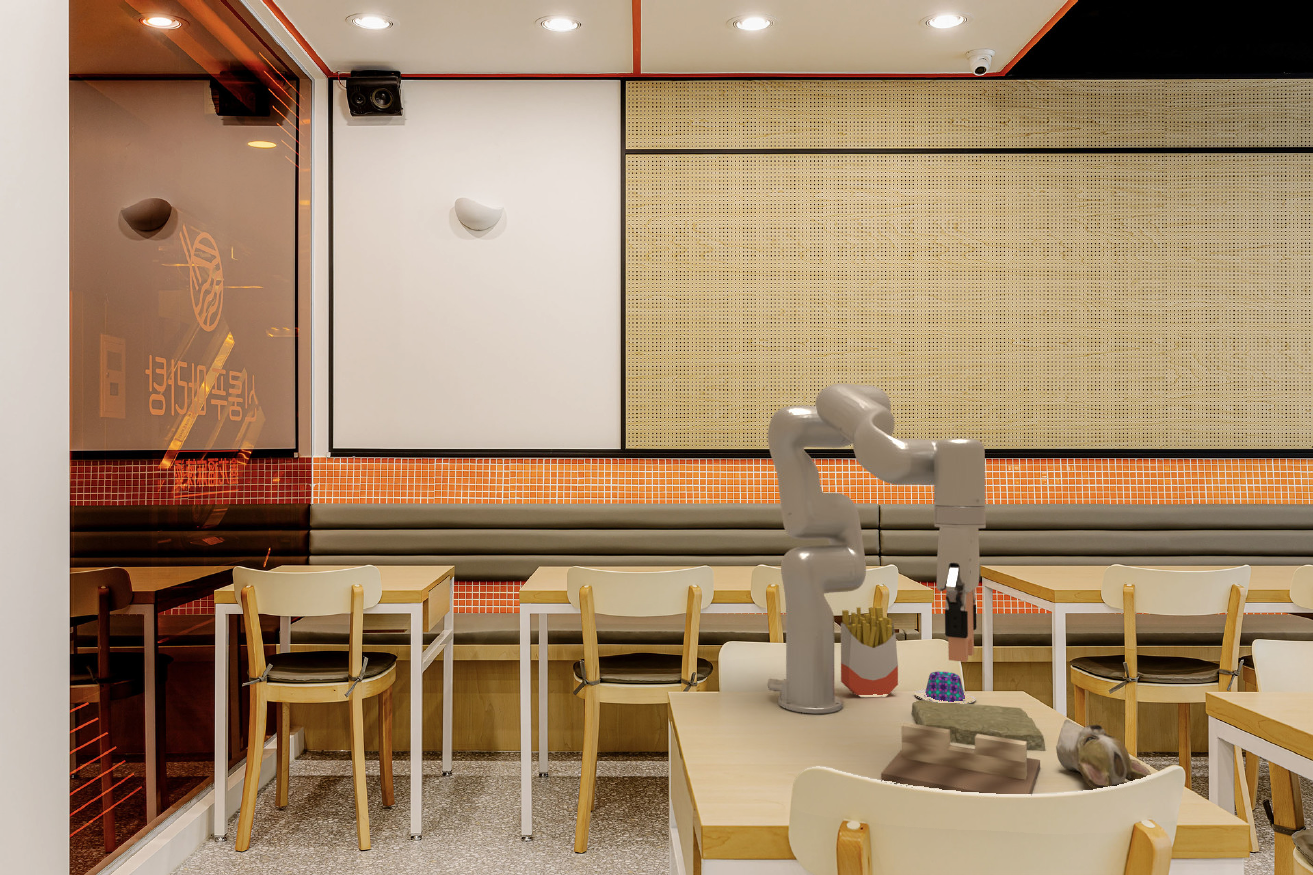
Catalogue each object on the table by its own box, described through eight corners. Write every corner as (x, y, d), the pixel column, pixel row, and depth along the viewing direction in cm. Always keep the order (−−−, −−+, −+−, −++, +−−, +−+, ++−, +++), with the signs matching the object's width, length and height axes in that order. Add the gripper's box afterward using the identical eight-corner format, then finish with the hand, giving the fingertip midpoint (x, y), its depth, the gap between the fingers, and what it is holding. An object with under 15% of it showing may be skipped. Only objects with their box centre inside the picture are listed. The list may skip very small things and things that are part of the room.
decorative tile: (911, 715, 159) (911, 696, 159) (1022, 722, 155) (1022, 703, 155) (922, 746, 141) (922, 725, 141) (1048, 755, 137) (1048, 733, 137)
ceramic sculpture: (1095, 707, 132) (1169, 742, 117) (1094, 760, 132) (1168, 802, 118) (1036, 711, 130) (1104, 747, 115) (1035, 765, 130) (1103, 809, 116)
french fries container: (898, 697, 170) (898, 609, 171) (849, 699, 168) (849, 610, 169) (888, 691, 175) (888, 606, 176) (840, 693, 173) (840, 607, 174)
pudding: (977, 696, 173) (977, 670, 173) (974, 710, 162) (973, 683, 162) (917, 689, 178) (917, 665, 178) (911, 703, 167) (910, 677, 167)
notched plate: (948, 660, 125) (947, 593, 125) (957, 651, 131) (956, 588, 131) (965, 661, 123) (965, 594, 124) (973, 653, 129) (972, 589, 130)
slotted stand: (881, 781, 123) (880, 739, 123) (910, 745, 139) (910, 708, 140) (1026, 809, 113) (1026, 763, 113) (1040, 767, 129) (1039, 727, 130)
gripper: (945, 515, 137) (947, 622, 137) (922, 519, 122) (923, 639, 122) (993, 516, 134) (995, 626, 133) (975, 520, 119) (977, 645, 118)
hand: (961, 632), depth 127 cm, fingers closed on notched plate, 7 cm apart
